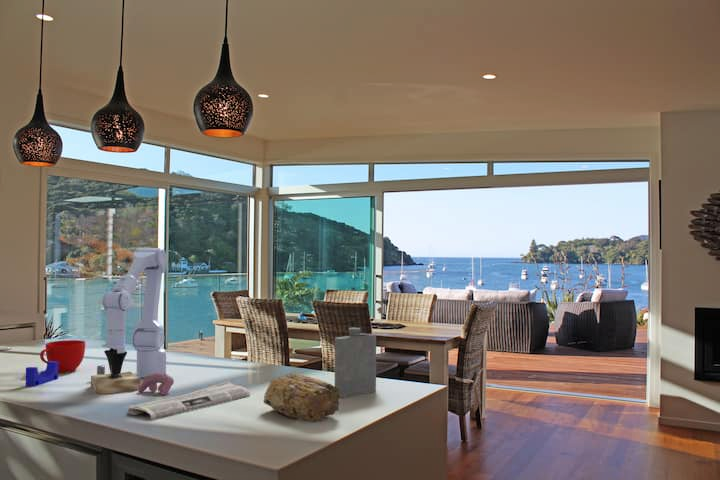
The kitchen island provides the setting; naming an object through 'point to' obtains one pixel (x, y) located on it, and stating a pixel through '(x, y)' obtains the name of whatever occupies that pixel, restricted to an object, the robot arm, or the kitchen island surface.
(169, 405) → the newspaper
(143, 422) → the kitchen island surface
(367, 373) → the hip flask
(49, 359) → the ceramic cup
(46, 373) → the cable clip
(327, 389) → the petrified wood
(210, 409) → the kitchen island surface
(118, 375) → the long pin
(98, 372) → the short pin
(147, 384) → the pink textured arched piece
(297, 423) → the kitchen island surface
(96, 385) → the bore block
